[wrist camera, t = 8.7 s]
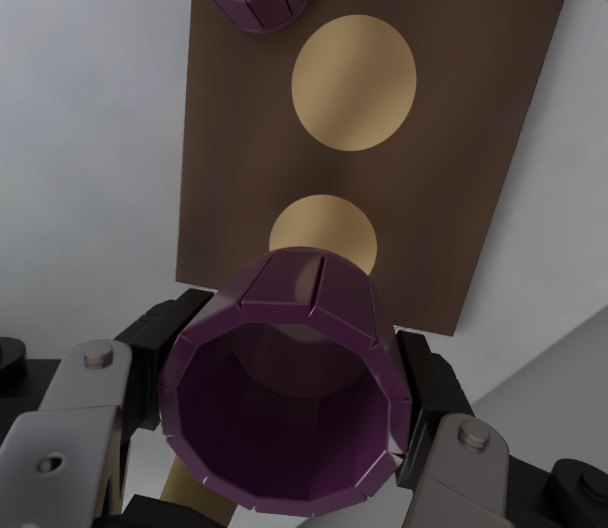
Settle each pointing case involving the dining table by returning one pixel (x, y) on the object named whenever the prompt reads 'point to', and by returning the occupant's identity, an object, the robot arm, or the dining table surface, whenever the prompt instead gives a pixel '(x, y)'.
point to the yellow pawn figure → (196, 495)
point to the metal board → (358, 140)
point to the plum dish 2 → (289, 387)
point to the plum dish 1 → (260, 13)
